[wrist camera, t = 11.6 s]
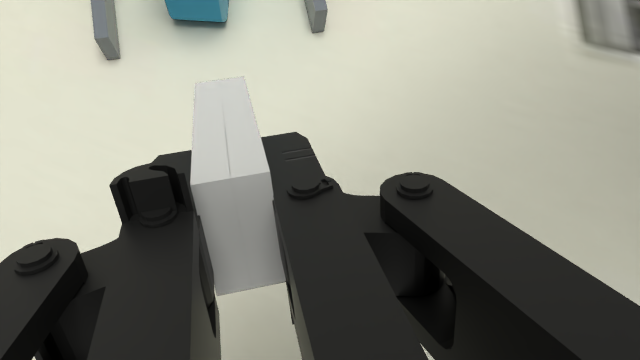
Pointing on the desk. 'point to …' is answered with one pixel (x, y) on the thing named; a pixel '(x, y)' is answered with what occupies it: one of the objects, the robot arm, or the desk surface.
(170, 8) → the data package
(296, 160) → the robot arm
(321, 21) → the dock bay
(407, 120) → the desk surface
